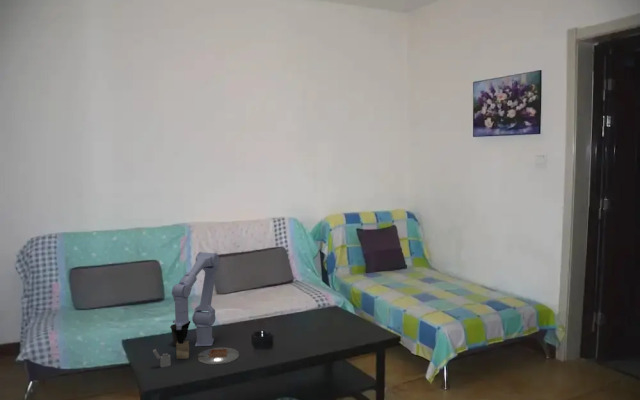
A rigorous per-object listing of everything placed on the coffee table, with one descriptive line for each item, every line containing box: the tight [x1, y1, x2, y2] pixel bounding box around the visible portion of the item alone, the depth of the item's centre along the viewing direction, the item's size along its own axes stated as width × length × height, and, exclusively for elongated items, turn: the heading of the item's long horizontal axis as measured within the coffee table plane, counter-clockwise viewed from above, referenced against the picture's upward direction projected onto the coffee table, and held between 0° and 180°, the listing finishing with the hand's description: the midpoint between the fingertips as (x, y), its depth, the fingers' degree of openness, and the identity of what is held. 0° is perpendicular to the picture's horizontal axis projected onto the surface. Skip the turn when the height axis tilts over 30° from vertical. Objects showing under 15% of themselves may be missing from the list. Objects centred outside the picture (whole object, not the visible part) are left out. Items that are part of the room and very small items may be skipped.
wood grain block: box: [175, 340, 190, 360], centre depth 230 cm, size 3×5×7 cm, turn 94°
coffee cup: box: [169, 323, 187, 347], centre depth 246 cm, size 8×8×10 cm
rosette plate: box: [197, 347, 240, 366], centre depth 230 cm, size 18×18×2 cm
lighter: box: [152, 348, 172, 368], centre depth 220 cm, size 7×2×8 cm, turn 117°
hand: (182, 340), depth 230 cm, fingers open, 7 cm apart
